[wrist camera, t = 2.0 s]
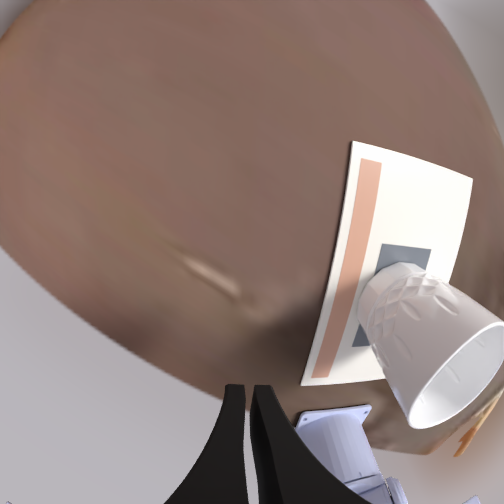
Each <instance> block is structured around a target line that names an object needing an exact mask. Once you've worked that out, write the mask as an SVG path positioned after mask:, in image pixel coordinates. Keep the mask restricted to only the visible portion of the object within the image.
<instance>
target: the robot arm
mask: <svg viewBox="0 0 504 504" xmlns="http://www.w3.org/2000/svg"><path fill="white" fill-rule="evenodd" d="M245 403H246V398H245V389H244V385H238V384H228V385H226V386H225V394H224V399H223V403H222V407H221V410H220V413H219V416H218V418H217V421H216V423H215V426H214V428H213V431H212V433H211V435H210V437H209V439H208V441H207V443H206V445H205V447H204V449H203V451H202V453H201V454H200V456H199V458H198V459H197V461H196V463H195V464H194V466H193V467H192V469H191V470H190V472H189V473H188V475H187V476H186V477H185V479H184V480H183V482H182V483H181V484H180V485H179V487H178V488H177V489H176V490H175V491H174V493H173V494H172V495H171V496H170V497H169V499H168V500H167V501H166V502H165V503H164V504H249V502H248V494H247V486H246V476H245V464H244V453H243V440H244V422H245V421H244V420H245ZM370 410H371V405H362V406H355V407H348V408H339V409H330V410H319V411H306V412H303V413H302V414H301V415H300V418H299V420H298V423H297V425H296V428H295V429H294V428H293V426H292V424H291V423H290V421H289V420H288V418H287V416H286V415H285V413H284V411H283V409H282V407H281V405H280V403H279V401H278V399H277V397H276V395H275V393H274V390H273V388H272V387H271V386H270V385H255V386H254V392H253V398H252V404H251V409H250V438H251V444H252V451H253V457H254V463H255V469H256V475H257V482H258V494H259V504H408V502H407V499H406V497H405V494H404V491H403V489H402V487H401V485H400V482H399V480H398V479H396V478H392V477H389V478H387V479H386V481H387V484H388V486H389V487H388V489H389V491H390V494H391V496H390V494H389V491H388V489H387V486H386V484H385V481H384V479H383V476H382V474H381V473H380V470H379V468H378V465H377V463H376V460H375V458H374V455H373V453H372V450H371V448H370V445H369V443H368V440H367V438H366V435H365V433H364V430H363V428H362V425H361V424H362V423H363V421H364V420H365V418H366V416H367V415H368V413H369V412H370ZM6 504H11V503H10V502H7V503H6ZM463 504H481V503H480V501H479V499H478V497H477V496H476V495H475V496H473V497H472V498H470V499H469V500H467V501H466V502H464V503H463Z"/></svg>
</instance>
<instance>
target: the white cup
mask: <svg viewBox="0 0 504 504" xmlns="http://www.w3.org/2000/svg"><path fill="white" fill-rule="evenodd" d="M357 319H358V321H359V323H360V325H361V327H362V330H363V332H364V333H365V335H366V337H367V338H368V340H369V344H370V347H371V349H372V351H373V353H374V354H375V357H376V359H377V361H378V363H379V365H380V367H381V368H382V371H383V373H384V376H385V377H386V379H387V381H388V383H389V385H390V387H391V389H392V391H393V393H394V395H395V397H396V399H397V401H398V403H399V405H400V407H401V409H402V411H403V413H404V415H405V417H406V419H407V421H408V424H409V425H410V426H411V427H412V428H415V429H424V428H429V427H432V426H435V425H438V424H440V423H442V422H444V421H446V420H448V419H449V418H451V417H453V416H454V415H456V414H457V413H458V412H460V411H461V410H462V409H464V408H465V407H466V406H467V405H469V404H470V403H471V402H472V401H473V400H474V399H475V398H476V397H477V396H478V395H479V394H480V393H481V392H482V391H483V390H484V388H485V387H486V386H487V385H488V383H489V382H490V381H491V380H492V378H493V377H494V375H495V374H496V372H497V371H498V369H499V367H500V365H501V364H502V362H503V360H504V321H502V320H501V319H500V318H498V317H497V316H496V315H494V314H493V313H491V312H490V311H489V310H487V309H486V308H484V307H483V306H482V305H480V304H479V303H477V302H476V301H475V300H473V299H472V298H470V297H469V296H467V295H466V294H465V293H463V292H462V291H460V290H458V289H457V288H455V287H453V286H451V285H450V284H448V283H447V282H445V281H444V280H442V279H440V278H438V277H436V276H433V275H431V274H430V273H428V272H427V271H425V270H424V269H422V268H420V267H419V266H417V265H416V264H414V263H405V262H397V263H395V264H393V265H390V266H388V267H385V268H383V269H381V270H380V271H379V272H378V273H377V274H376V275H375V276H374V277H373V278H372V279H371V280H370V281H369V282H368V283H367V285H366V287H365V289H364V291H363V292H362V294H361V296H360V298H359V300H358V310H357Z"/></svg>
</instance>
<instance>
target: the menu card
mask: <svg viewBox="0 0 504 504" xmlns="http://www.w3.org/2000/svg"><path fill="white" fill-rule="evenodd" d="M472 181H473V179H472V178H469V177H467V176H464V175H462V174H459V173H457V172H454V171H452V170H449V169H446V168H444V167H441V166H438V165H435V164H432V163H430V162H427V161H424V160H421V159H417V158H414V157H411V156H408V155H405V154H401V153H398V152H394V151H391V150H387V149H384V148H380V147H376V146H372V145H368V144H364V143H360V142H356V141H352V145H351V154H350V162H349V169H348V177H347V184H346V190H345V197H344V203H343V209H342V215H341V221H340V226H339V232H338V237H337V242H336V247H335V252H334V257H333V262H332V267H331V271H330V276H329V280H328V285H327V289H326V293H325V297H324V301H323V306H322V310H321V314H320V317H319V321H318V325H317V329H316V333H315V336H314V340H313V344H312V347H311V351H310V354H309V358H308V361H307V364H306V368H305V371H304V374H303V377H302V381H301V384H300V385H301V386H309V385H327V384H340V383H351V382H360V381H369V380H377V379H384V378H386V377H385V376H384V373H383V371H382V368H381V367H380V365H379V363H378V361H377V359H376V357H375V354H374V353H373V351H372V349H371V347H370V344H369V340H368V338H367V337H366V335H365V333H364V332H363V330H362V327H361V325H360V323H359V321H358V319H357V310H358V300H359V298H360V296H361V294H362V292H363V291H364V289H365V287H366V285H367V283H368V282H369V281H370V280H371V279H372V278H373V277H374V276H375V275H376V274H377V273H378V272H379V271H380V270H381V269H383V268H385V267H388V266H390V265H393V264H395V263H397V262H405V263H414V264H416V265H417V266H419V267H420V268H422V269H424V270H425V271H427V272H428V273H430V274H431V275H433V276H436V277H438V278H440V279H442V280H444V281H445V282H447V283H448V282H449V279H450V276H451V273H452V270H453V267H454V263H455V260H456V257H457V253H458V249H459V246H460V242H461V238H462V234H463V230H464V225H465V221H466V216H467V211H468V206H469V200H470V194H471V188H472Z"/></svg>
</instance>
